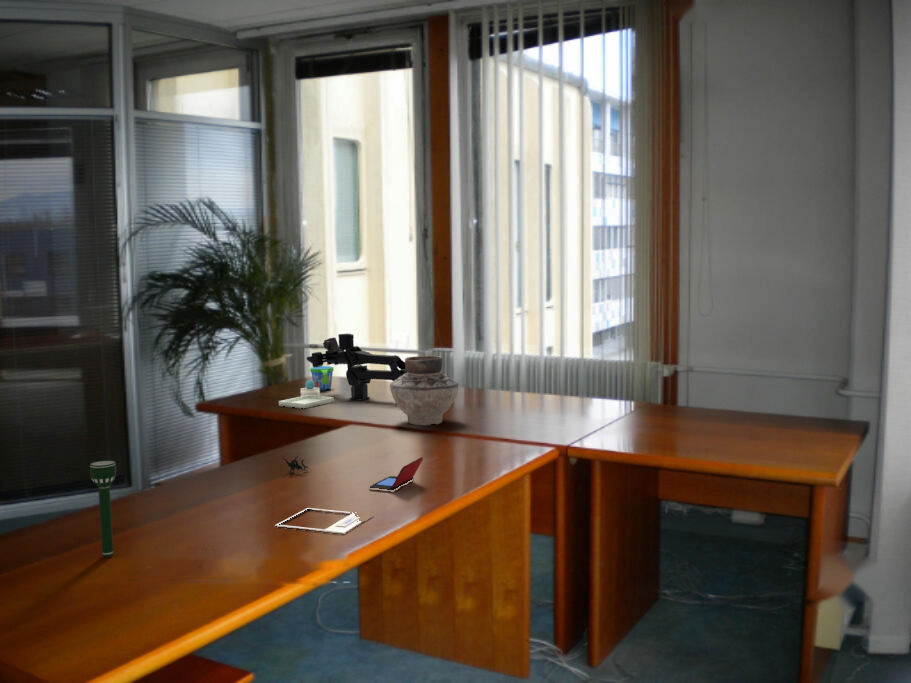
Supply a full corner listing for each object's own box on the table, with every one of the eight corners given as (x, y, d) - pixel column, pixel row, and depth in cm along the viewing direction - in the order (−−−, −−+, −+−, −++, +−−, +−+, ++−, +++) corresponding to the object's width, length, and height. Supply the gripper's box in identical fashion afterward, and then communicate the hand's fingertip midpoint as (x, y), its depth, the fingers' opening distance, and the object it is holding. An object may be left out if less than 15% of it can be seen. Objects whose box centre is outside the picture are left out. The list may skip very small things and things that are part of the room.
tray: (334, 402, 380) (333, 397, 379) (304, 408, 365) (303, 403, 365) (309, 399, 387) (309, 394, 387) (278, 406, 373) (278, 401, 372)
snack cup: (309, 387, 421) (309, 365, 420) (332, 386, 424) (331, 364, 423) (312, 392, 406) (311, 370, 405) (335, 391, 409) (335, 369, 408)
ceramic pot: (381, 427, 324) (380, 361, 321) (402, 415, 348) (400, 353, 345) (449, 430, 318) (448, 362, 316) (465, 416, 342) (465, 353, 340)
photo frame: (344, 531, 203) (274, 524, 209) (344, 536, 203) (275, 529, 210) (373, 513, 216) (307, 507, 223) (373, 518, 216) (307, 511, 223)
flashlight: (124, 551, 194) (119, 459, 192) (116, 560, 189) (110, 465, 187) (100, 552, 194) (94, 460, 191) (91, 560, 188) (85, 466, 186)
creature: (317, 476, 261) (299, 466, 265) (319, 459, 259) (301, 449, 264) (296, 482, 255) (277, 471, 259) (298, 464, 253) (279, 454, 258)
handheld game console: (389, 479, 252) (389, 453, 251) (424, 483, 247) (424, 456, 247) (367, 491, 240) (366, 463, 240) (403, 494, 236) (403, 466, 235)
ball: (316, 389, 393) (316, 380, 392) (310, 390, 389) (310, 381, 389) (309, 388, 395) (309, 379, 394) (303, 389, 392) (303, 380, 391)
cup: (323, 397, 394) (323, 387, 393) (310, 399, 387) (310, 390, 386) (309, 395, 398) (309, 386, 398) (297, 398, 391) (296, 388, 391)
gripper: (353, 336, 398) (326, 336, 406) (325, 341, 382) (297, 341, 391) (355, 361, 399) (328, 360, 408) (327, 367, 384) (299, 367, 392)
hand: (314, 356), depth 400 cm, fingers open, 9 cm apart
